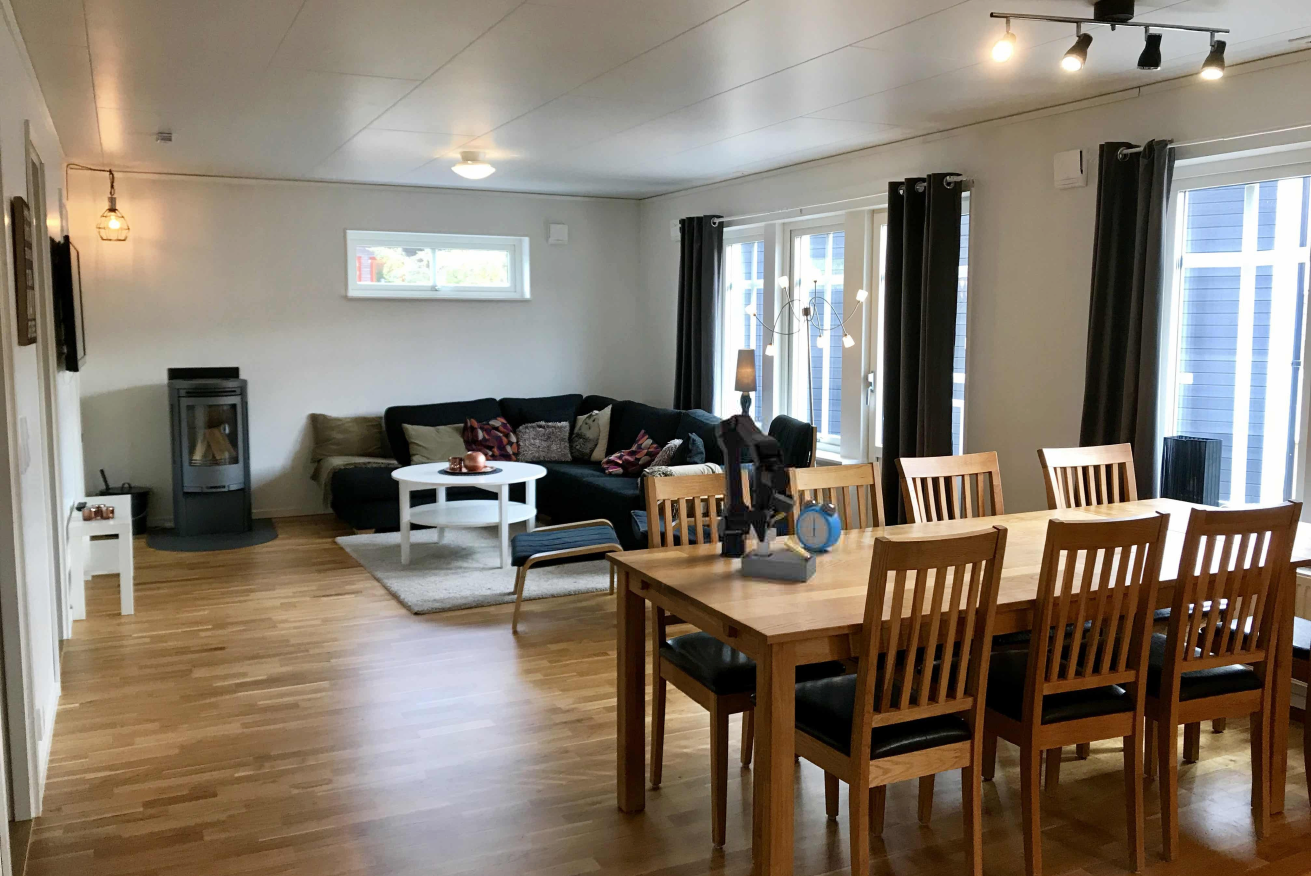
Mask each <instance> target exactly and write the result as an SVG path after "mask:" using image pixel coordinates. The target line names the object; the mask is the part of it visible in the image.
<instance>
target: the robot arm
mask: <svg viewBox="0 0 1311 876" xmlns="http://www.w3.org/2000/svg"><path fill="white" fill-rule="evenodd" d="M714 432H715V433H714V434H715V437H716V442H717V445H718V446H719V448H720V449H721V450H722V452H723V462H724V463H723V465H724V477H725V478H724V479H725V494H726V502H725V503H724V505H723V508H722V509H721V517H720V519H719V521H718V523H717V524H716V532H717V534H718V535H720V536H721V552H720V553H719V556H722V557H731V558H732V557H733V558H742V557H743V556H744V555H746V554H747V539H746V538H745V536H746V535H748V536H749V535H750V534H751V528H752V527H753V528H754V530H755V532H756V534H757V537H758V539H759V541H760V542H764V539H765V534H766V528H771V527H772V526H771V525H772V523H773V520H774V519H775V518H776V517H777V516H779V513H775V512H774V510H777V511H778V512H783V513H784V514H786V515H791V513H792V514H793V510H794V508H795V506H796V503H797V500H795V494H793V493H790V492H789V493H787V494H786V495H784V494H779V493H778V491H779V492H783V491H784V490H786V489H787V488H788V487H789V486H790V484H791V477H790V474H789V473H788V471H787V470H785V469H784V468H785V467H784V466H785V465H786V463H785V460H786V459H785V456H784V452H783V451H782V448H781V445H780V443H779V442H778V440H777V438H775V437H773V436H771V435H767V434H764V433H763V432H762V431H761V430H760V428H759V427H758V426H757V425H756V424H755V423H754V421H752V419H751V416H750V415H749V414H746V413H741V414H739V413H738V414H735V413H734V414H733V415H731V416H730V417H728V418H726V419H723V420H721V421H720V422H719V423H718V424H717V425H715V430H714ZM745 442H746V443H747V445H748V446H749V451H748V453H749V454H750V456H751V458H752V460H753V463H752V467H753V469H754V470H753V488H751V494H753V502H752V504H751V507H750V506H749V504H747V503H746V502H745V501H744V497H743V496H744V495H743V481H742V480H743V479H742V467H741V466H742V463H741V449H742V447H743V445H744V443H745Z"/></svg>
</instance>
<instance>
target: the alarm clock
mask: <svg viewBox="0 0 1311 876" xmlns="http://www.w3.org/2000/svg"><path fill="white" fill-rule="evenodd" d="M794 526H795V527H794V532H795V534H796V538H797V540H798V541H799V543H800V544H801V545H802V546H803V549H804V550H806V549H807V550H809V551H812V552H813V551H814V552H819V551H821V552H822V553H823V554H824V553H825V551H824V550H825V549H829V548H831V547H834V546H835V545H836V544H837V543H838V542H839V540H840V538H841V534H842V524H841V519H840V517H839V515H838V514H837V507H836V505H835V504H834V503H832V502H829V501H825V502H823V503H822V504H821V502H817V500H814V499H806V501H804V502H803V503H802V504H801V512H800V513H799V514H798V516H797V517H796V518H795V523H794Z"/></svg>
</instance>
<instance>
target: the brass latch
mask: <svg viewBox="0 0 1311 876" xmlns="http://www.w3.org/2000/svg"><path fill="white" fill-rule="evenodd" d="M783 546H785V547H786V548H788V549H789V550H791V552H795V553H797V554H798V555H800V556H801V557H803V558H804V559H805V560H808V559H809V558H810V557H811V554H812V553H810V552H809V551H807V550H806V549H804V548H802V547H801V546H799V545H798V544H796V543H795V542H794V541H791V540H790V539H786V541H785V542H784V544H783Z"/></svg>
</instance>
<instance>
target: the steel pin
mask: <svg viewBox="0 0 1311 876" xmlns="http://www.w3.org/2000/svg"><path fill="white" fill-rule="evenodd" d="M776 539H777V528H775V527H774V528H773V527H770V528H766V534H765V539H764V542H760V541H759V539H758V537H757V534H756V532H755V530H754V528H753V526H751V529H750V540H751V541H752V540H754V541H756V548H755V549H756V556H763V557H768V556H769V555H770V550H771V542H775V541H776Z"/></svg>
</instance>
